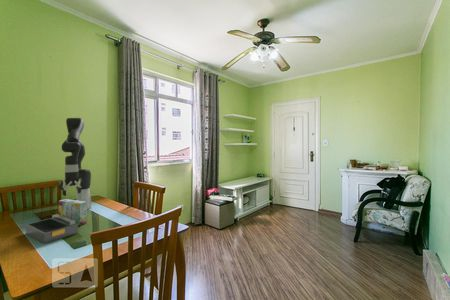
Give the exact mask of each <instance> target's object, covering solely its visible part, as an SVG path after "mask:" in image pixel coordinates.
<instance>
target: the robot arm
mask: <svg viewBox="0 0 450 300" xmlns="http://www.w3.org/2000/svg"><path fill="white" fill-rule="evenodd" d="M65 122H66V129H67V138H66V139H65V140H64V141H63V143H62V144H61V150H62V152H64V153H71V155H67V156H65V158H64V159H65V162H64V165H65V166H64V179H63V180H59V181H58V190H59V191H60V190H61V191H62V192H61V193H62V195H63V196H64V197H67V188H70V187H72V186H74V187H75V189H76V192H75V193H76V200H77V201H85V202H87V210H89V209H92V196H91V188H90V187H91V184H92V182H91V181H92V173H91V171H90V169H87V168H86V169H85V168H82V162H83V160H84V158H85V156H86V150H85V149H86V148H85V144H84V143H83V142H82V141H81V139H80V136H81V134H82V133H83V130H84V127H85V121H84V119H83V118H81V117H68V118H66V119H65Z"/></svg>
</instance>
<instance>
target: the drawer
mask: <svg viewBox="0 0 450 300" xmlns="http://www.w3.org/2000/svg"><path fill="white" fill-rule="evenodd" d="M51 216H52V217H51V218H46V219H43V220H42V219H41V220H38V221H34V222H31V223H26V224H25V234H26V235H28V236H30V237H32V238H33V239H35V240H37V241H38V242H40V243H42V244H44V245H45V244H49V243H51V242H54V241H58V240H61V239H63V238H66V237H70V236H73V235H75V234H78V233H79V229H78V228H79V225H78V224H77V223H75V220H72V219H69V218H67V217H64V216H61V215H59V213H56V214H53V215H51Z"/></svg>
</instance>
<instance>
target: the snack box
mask: <svg viewBox="0 0 450 300" xmlns="http://www.w3.org/2000/svg"><path fill="white" fill-rule="evenodd" d="M87 211H88V209H87V202H85V201H77V199H76V200H75V199H68V198H66V199H64V198H63V199H60V200H58V214H59V215H61V216H64V217H67V218H69V219H72V220H75V223H77V224H78V226H82V225H85V224H87V223H88V221H87V217H88V216H87V215H88V213H87Z"/></svg>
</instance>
